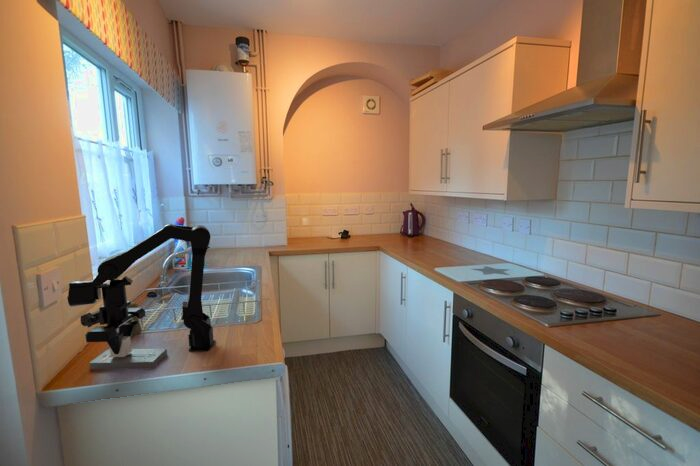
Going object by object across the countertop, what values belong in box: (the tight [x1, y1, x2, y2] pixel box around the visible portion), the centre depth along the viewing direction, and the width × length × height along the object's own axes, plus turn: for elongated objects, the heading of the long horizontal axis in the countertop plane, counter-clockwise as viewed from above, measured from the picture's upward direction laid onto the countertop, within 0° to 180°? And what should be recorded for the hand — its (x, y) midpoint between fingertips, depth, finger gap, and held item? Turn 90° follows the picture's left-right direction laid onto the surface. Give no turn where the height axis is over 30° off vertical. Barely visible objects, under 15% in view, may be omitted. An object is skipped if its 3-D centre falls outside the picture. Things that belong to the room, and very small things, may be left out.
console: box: [88, 348, 168, 370], centre depth 104 cm, size 18×8×2 cm, turn 91°
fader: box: [108, 336, 132, 357], centre depth 103 cm, size 4×4×5 cm
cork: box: [128, 301, 142, 336], centre depth 124 cm, size 6×6×11 cm
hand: (120, 350), depth 104 cm, fingers closed on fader, 3 cm apart
